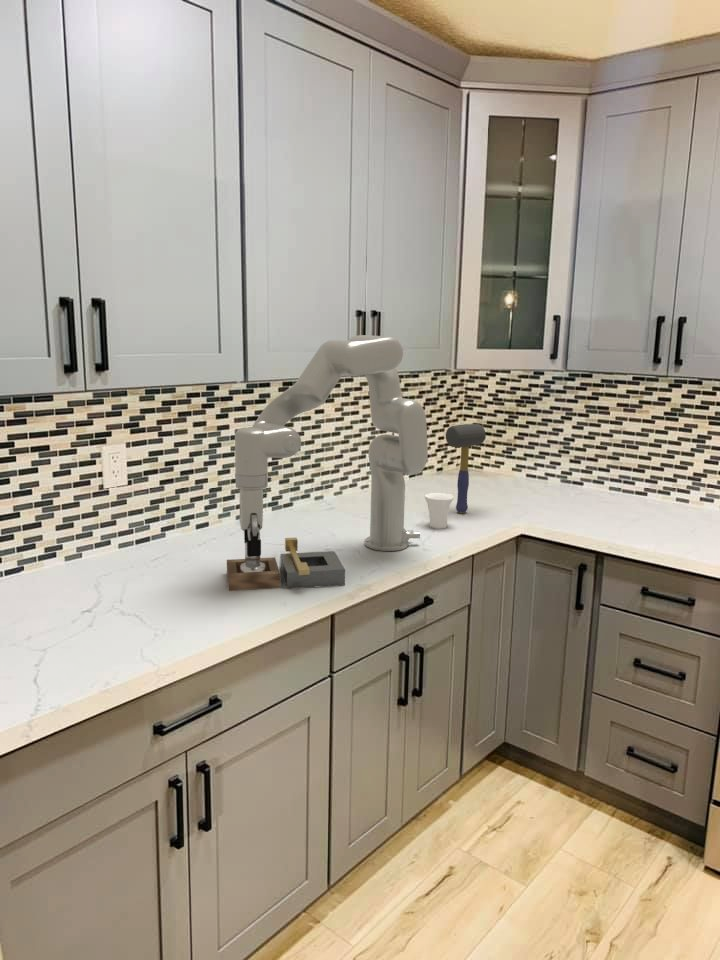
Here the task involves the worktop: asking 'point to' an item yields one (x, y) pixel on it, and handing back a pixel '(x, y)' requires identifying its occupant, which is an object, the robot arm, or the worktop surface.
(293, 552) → the brass key
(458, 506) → the rubber mallet
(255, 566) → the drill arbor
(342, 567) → the spindle block
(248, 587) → the frame
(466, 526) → the worktop surface
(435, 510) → the cup
